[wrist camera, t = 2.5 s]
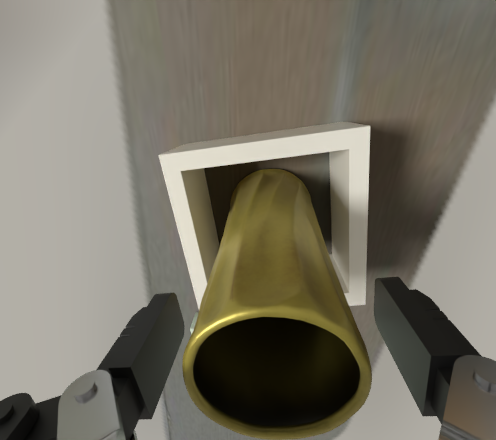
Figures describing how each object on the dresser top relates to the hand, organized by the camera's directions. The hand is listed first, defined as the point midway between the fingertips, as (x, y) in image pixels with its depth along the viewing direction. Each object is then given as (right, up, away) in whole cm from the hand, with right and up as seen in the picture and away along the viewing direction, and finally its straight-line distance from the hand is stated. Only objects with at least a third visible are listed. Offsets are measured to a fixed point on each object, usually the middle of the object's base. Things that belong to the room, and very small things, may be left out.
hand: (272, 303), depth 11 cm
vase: (+1, +4, +10) cm, 11 cm away
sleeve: (+1, +4, +10) cm, 11 cm away
